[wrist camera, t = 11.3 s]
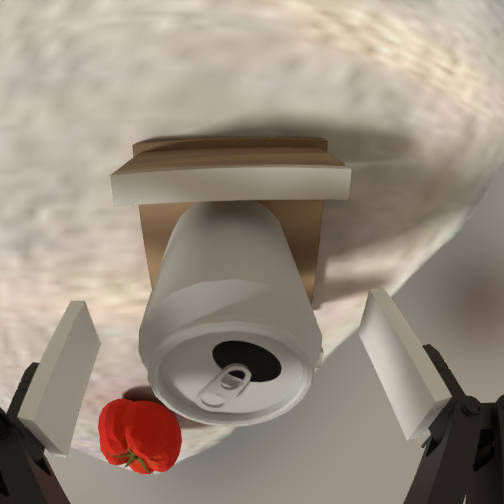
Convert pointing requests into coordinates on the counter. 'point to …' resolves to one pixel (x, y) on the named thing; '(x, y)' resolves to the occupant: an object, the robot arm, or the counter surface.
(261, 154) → the cradle holder
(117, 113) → the counter surface
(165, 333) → the can
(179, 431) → the tomato
